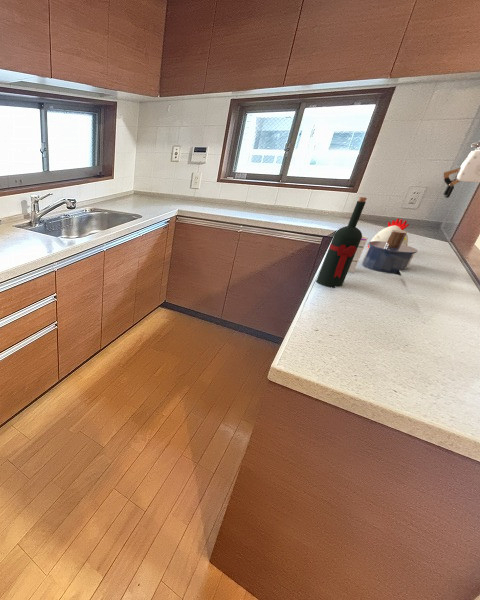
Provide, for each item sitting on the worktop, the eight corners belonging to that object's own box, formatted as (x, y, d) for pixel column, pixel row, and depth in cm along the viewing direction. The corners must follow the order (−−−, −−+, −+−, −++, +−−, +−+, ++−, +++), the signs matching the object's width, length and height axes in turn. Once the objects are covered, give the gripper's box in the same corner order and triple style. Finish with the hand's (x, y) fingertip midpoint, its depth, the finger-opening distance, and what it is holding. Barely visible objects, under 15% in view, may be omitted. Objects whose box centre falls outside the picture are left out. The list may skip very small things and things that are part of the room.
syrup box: (353, 273, 126) (369, 237, 119) (337, 272, 127) (351, 236, 120) (345, 268, 131) (360, 233, 125) (329, 267, 132) (343, 232, 125)
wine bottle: (318, 287, 113) (352, 199, 100) (314, 277, 121) (345, 194, 108) (346, 292, 110) (385, 201, 97) (339, 281, 118) (374, 197, 105)
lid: (412, 248, 131) (421, 230, 128) (419, 257, 120) (429, 238, 117) (366, 241, 139) (373, 225, 135) (369, 250, 128) (377, 232, 124)
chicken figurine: (389, 255, 148) (404, 222, 141) (360, 246, 160) (373, 216, 153) (412, 254, 150) (429, 222, 144) (382, 245, 162) (396, 215, 156)
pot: (400, 265, 136) (410, 245, 133) (408, 278, 122) (419, 257, 119) (360, 258, 143) (368, 239, 140) (363, 270, 129) (372, 250, 126)
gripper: (459, 146, 111) (434, 197, 119) (536, 147, 103) (503, 203, 110) (453, 146, 117) (429, 195, 125) (526, 147, 108) (495, 200, 116)
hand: (464, 198), depth 118 cm, fingers open, 9 cm apart
